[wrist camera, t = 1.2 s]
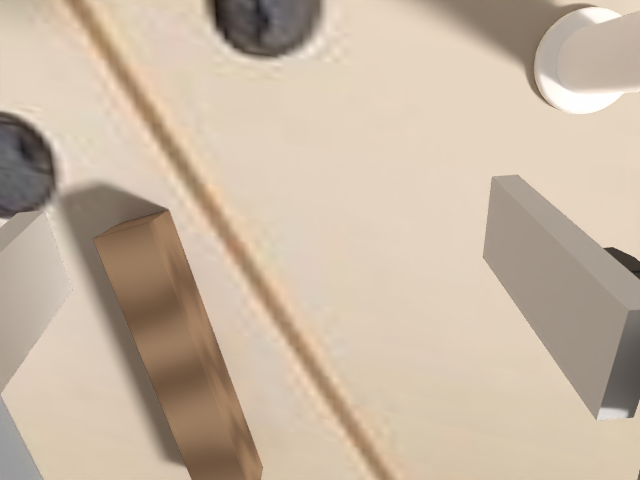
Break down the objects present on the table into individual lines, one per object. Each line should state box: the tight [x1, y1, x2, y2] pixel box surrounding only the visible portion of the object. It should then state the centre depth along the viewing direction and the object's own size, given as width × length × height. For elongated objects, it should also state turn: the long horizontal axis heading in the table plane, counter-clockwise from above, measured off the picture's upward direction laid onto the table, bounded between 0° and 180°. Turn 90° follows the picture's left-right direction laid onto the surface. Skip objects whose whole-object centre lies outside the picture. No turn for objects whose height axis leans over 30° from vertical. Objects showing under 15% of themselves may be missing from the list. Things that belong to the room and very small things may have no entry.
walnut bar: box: [93, 210, 263, 480], centre depth 38 cm, size 24×4×5 cm, turn 16°
